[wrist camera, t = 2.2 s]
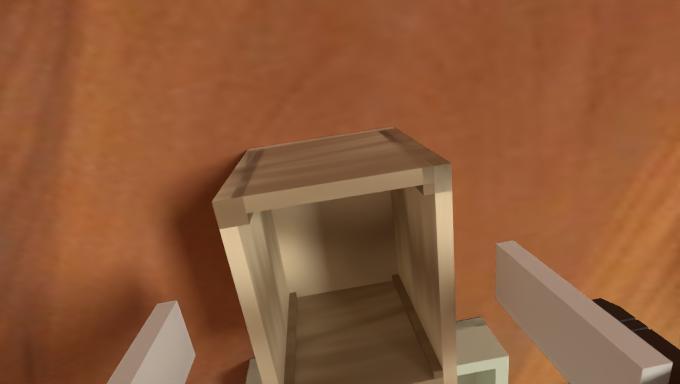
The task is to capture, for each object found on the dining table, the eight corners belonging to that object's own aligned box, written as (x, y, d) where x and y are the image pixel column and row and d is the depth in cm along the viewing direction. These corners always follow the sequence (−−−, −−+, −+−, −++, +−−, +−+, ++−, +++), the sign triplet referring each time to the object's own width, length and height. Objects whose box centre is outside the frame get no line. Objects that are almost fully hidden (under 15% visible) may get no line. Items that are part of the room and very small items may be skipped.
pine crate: (248, 149, 19) (211, 201, 11) (393, 126, 19) (451, 163, 12) (283, 302, 22) (273, 420, 15) (406, 280, 23) (457, 385, 15)
